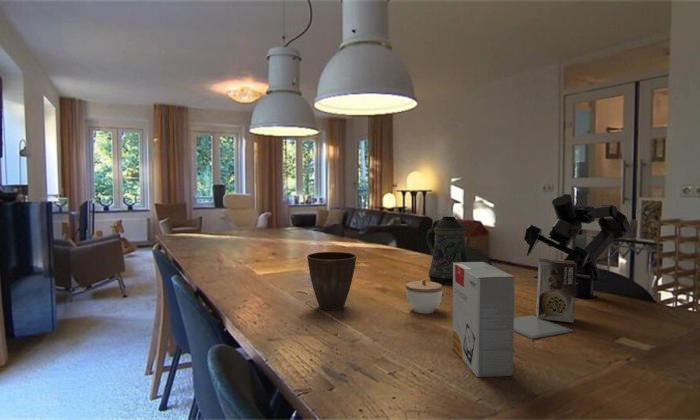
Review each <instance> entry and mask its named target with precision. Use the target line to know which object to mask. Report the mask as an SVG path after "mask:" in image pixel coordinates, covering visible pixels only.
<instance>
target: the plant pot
mask: <svg viewBox="0 0 700 420" xmlns="http://www.w3.org/2000/svg"><path fill="white" fill-rule="evenodd" d="M306 258H307V262H308V263H307V265H308V270H309V275H310V282H311V283H312V284H311V285H312V288H313V292H314V295H315V299H316V301H317V304H318V307H319V308H320V310H321V309H322V310H326V311H337V310H341V309H344V307H345V304H346V301H347V299H348V295H349V293H350V289H351V286H352V282H353V279H354V272H355V268H356V261H357V255H356V254H354V253H352V252H344V251H343V252H342V251H322V252H319V251H318V252H314V253H310V254H308V255H307V257H306Z"/></svg>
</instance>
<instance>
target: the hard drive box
mask: <svg viewBox="0 0 700 420" xmlns="http://www.w3.org/2000/svg"><path fill="white" fill-rule="evenodd" d="M514 318H515V276H514V275H512V274H510V273H508V272H505V271H503V270H501V269H500V268H497V267H495V266H493V265H490V264H489V263H488V262H487V263H486V262H484V261H468V262H456V263H453V285H452V333H451V334H452V349H453V350H454V351H455V352H456V354H457V355H458V357H459V358H461V360H462V361H463V363H465V365H467V367H468V369H469V370H470V371H471V372H472V373H473V374H474V375H475V376H476V377H477V378H486V377H488V378H490V377H508V376H509V377H512V376H513V372H514V370H513V368H514V367H513V366H514V333H515V332H514Z"/></svg>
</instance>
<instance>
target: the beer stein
mask: <svg viewBox="0 0 700 420" xmlns="http://www.w3.org/2000/svg"><path fill="white" fill-rule="evenodd" d="M466 233H467V228H466V227H465V226H464V225H463V224H462V223H461V222H459V221H458V220H457V218H456V216H442V218H441V219H437V220H435V221H433V223H432V226H431V227H429V229H428V230H427V232H426V242H427V243H426V244H427V246H428V249H429V252H430V253H431V254H432V259H431V264H430V268H429V270H428V278H429V282H435V283H439V284H441V285H442V286H453V263H456V262H469V259H468V253H467V246H466V239H465V238H466V237H465V236H466Z"/></svg>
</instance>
